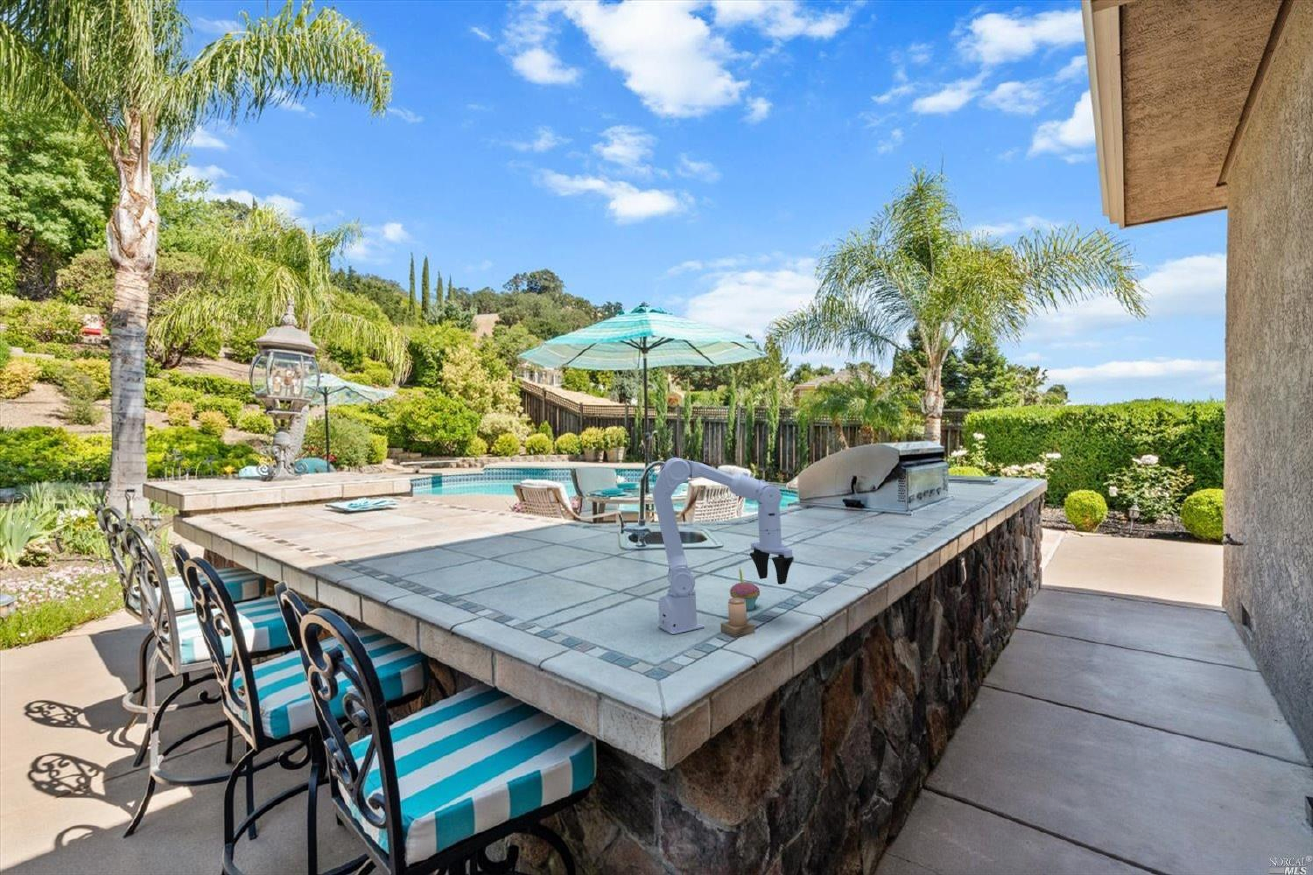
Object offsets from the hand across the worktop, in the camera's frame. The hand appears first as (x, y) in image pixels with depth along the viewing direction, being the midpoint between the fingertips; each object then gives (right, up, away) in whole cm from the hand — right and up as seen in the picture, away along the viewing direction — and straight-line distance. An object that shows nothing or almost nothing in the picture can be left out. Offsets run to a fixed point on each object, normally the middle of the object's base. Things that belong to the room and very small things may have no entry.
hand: (772, 580), depth 151 cm
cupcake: (-5, -11, +13) cm, 18 cm away
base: (-10, -11, -7) cm, 17 cm away
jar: (-10, -9, -7) cm, 15 cm away
